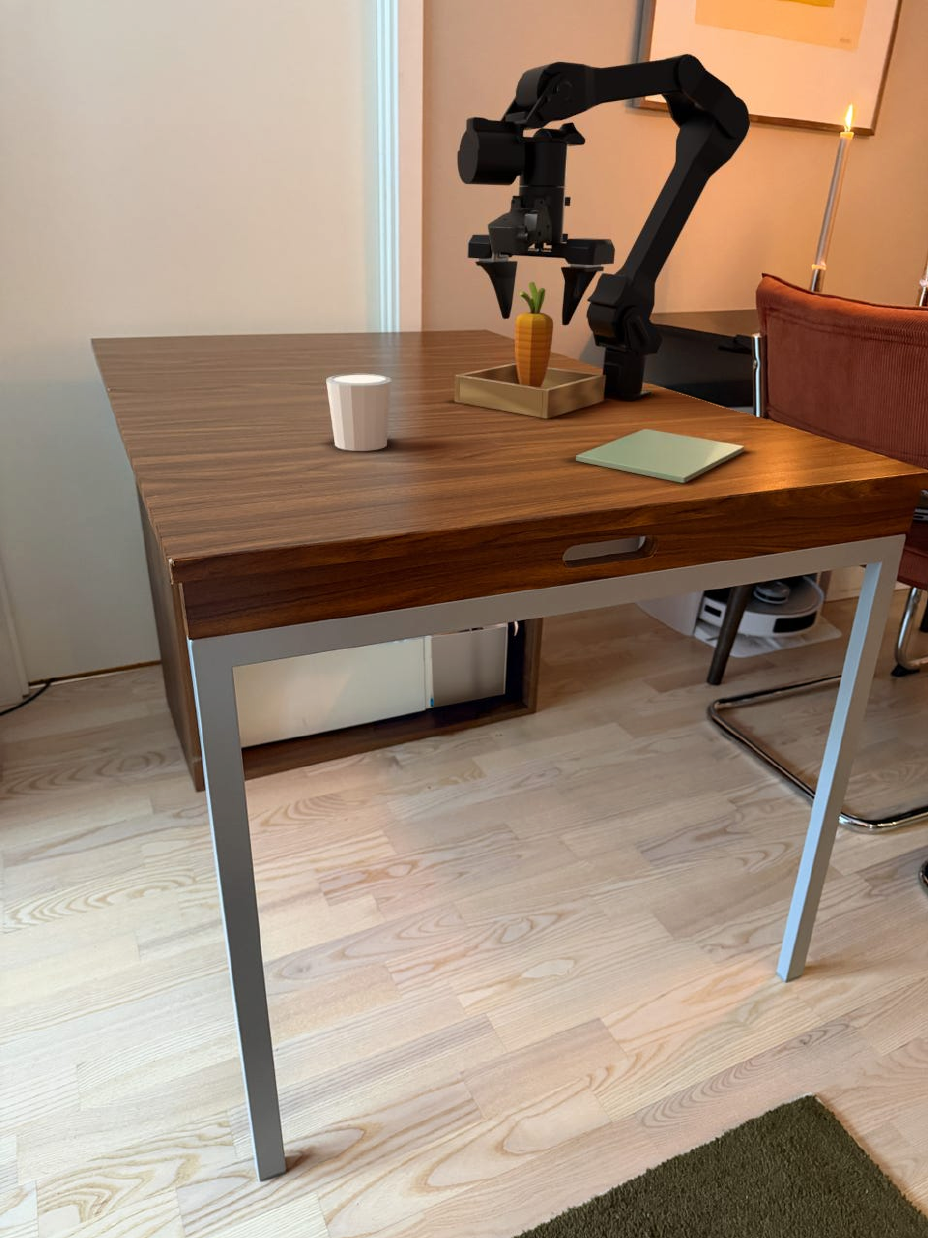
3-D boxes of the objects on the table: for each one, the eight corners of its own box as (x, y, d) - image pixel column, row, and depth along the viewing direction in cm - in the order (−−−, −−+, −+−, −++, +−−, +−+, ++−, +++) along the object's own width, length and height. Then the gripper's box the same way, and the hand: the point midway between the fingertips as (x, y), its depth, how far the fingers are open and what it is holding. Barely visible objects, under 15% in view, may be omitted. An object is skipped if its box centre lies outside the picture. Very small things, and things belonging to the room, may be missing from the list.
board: (644, 433, 98) (645, 428, 98) (743, 451, 92) (744, 446, 91) (575, 460, 87) (576, 455, 86) (683, 483, 80) (684, 477, 80)
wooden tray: (515, 387, 122) (516, 362, 121) (603, 401, 115) (606, 375, 113) (454, 401, 112) (454, 375, 110) (546, 418, 104) (548, 390, 102)
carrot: (546, 406, 111) (553, 284, 104) (509, 404, 111) (514, 283, 105) (550, 399, 115) (557, 282, 108) (514, 396, 116) (520, 280, 109)
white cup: (354, 433, 95) (352, 370, 92) (405, 442, 92) (404, 377, 89) (315, 446, 89) (312, 379, 86) (367, 455, 86) (366, 386, 83)
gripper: (441, 184, 101) (440, 320, 108) (575, 184, 91) (564, 334, 98) (494, 187, 109) (490, 313, 116) (622, 187, 99) (610, 326, 106)
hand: (535, 321), depth 109 cm, fingers open, 9 cm apart
